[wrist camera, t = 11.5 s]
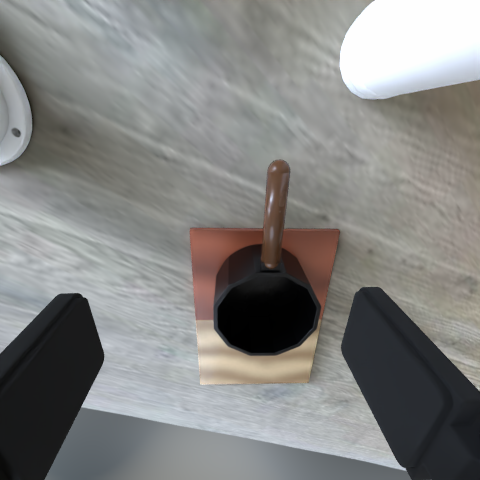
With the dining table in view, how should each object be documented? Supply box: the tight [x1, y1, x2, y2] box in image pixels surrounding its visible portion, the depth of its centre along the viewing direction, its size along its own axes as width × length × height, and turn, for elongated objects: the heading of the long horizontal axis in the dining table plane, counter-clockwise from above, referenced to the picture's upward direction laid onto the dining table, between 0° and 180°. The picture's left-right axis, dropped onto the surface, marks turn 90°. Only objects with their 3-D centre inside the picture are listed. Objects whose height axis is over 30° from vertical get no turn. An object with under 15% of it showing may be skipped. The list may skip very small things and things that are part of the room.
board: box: [190, 228, 340, 385], centre depth 37 cm, size 29×19×1 cm, turn 179°
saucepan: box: [213, 160, 321, 356], centre depth 29 cm, size 23×12×7 cm, turn 178°
